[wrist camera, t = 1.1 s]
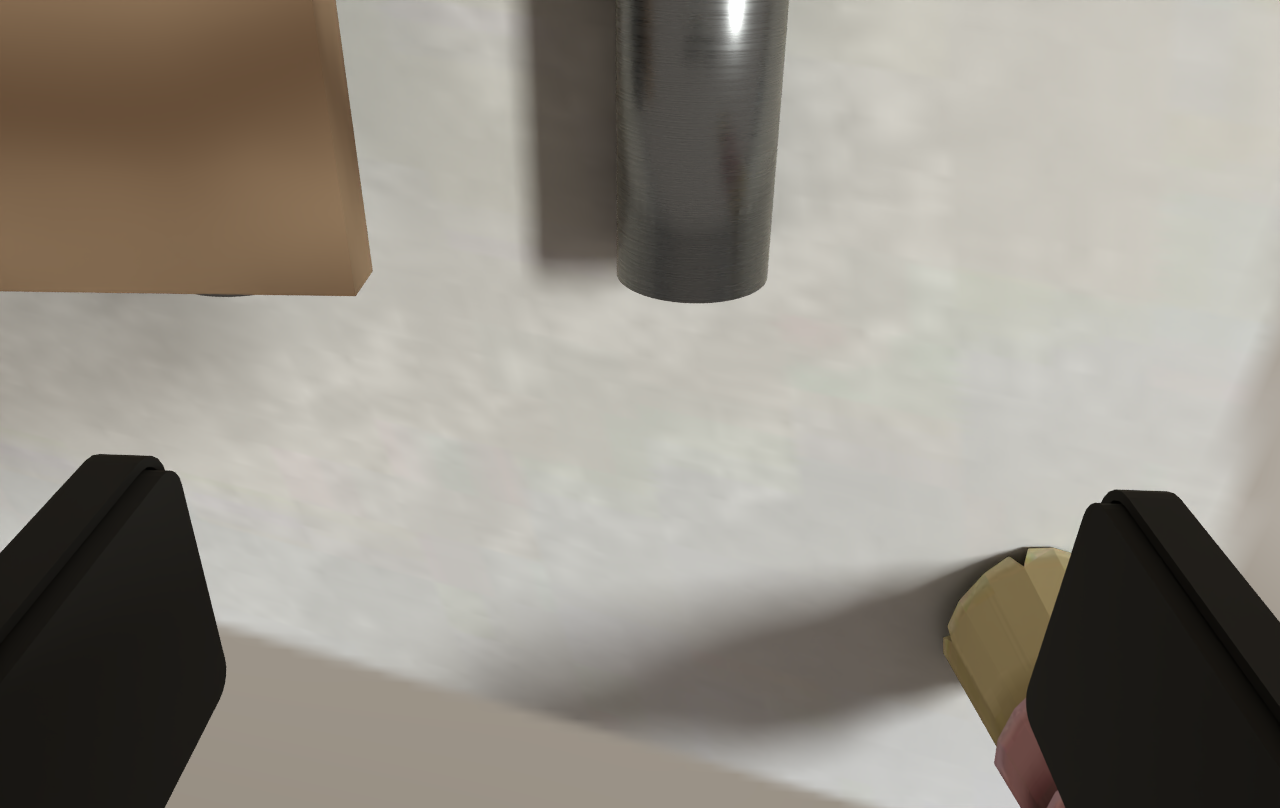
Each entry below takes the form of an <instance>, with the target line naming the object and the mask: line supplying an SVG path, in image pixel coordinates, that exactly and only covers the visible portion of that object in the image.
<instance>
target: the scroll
mask: <svg viewBox="0 0 1280 808" xmlns="http://www.w3.org/2000/svg"><path fill="white" fill-rule="evenodd" d="M1070 556H1071V553H1069V552H1065V551H1062V550H1059V549H1055V548H1030V549H1028V551H1027V555H1026V559H1025V564H1024V566H1022V565H1021V564H1019V563H1018V562H1016V561H1015V560H1013V559H1012V558H1011V557H1007V558H1006V559H1004V560H1003V561H1001V562H1000V563H998V564H997V565H995V566H994V567H993V568H991V569H990V570H988V571H987V572H985V573H984V574H983V575H982V576H981V577H980V578H979V580H978V581H977V582H976V583H975V584H974V585H973V586H972V587H971V588H970V589H969V590H968V592H967V593H966V594H965V595H964V596H963V597H962V598H961V599H960V600H959V602H958V604H957V606H956V609H955V611H954V613H953V615H952V617H951V619H950V621H949V624H948V629H949V633H950V635H949V636H946V637H943V653H944V655H945V657H946V658H947V660H948V662H949V664H950V666H951V667H952V669H953V671H954V673H955V674H956V676H957V678H958V680H959V681H960V683H961V685H962V687H963V688H964V690H965V692H966V694H967V695H968V697H969V699H970V701H971V703H972V704H973V706H974V708H975V710H976V711H977V713H978V715H979V717H980V718H981V720H982V722H983V724H984V725H985V727H986V729H987V731H988V732H989V734H990V736H991V738H992V739H993V741H994V743H995V745H996V747H997V748H996V755H995V761H994V764H995V766H996V767H997V769H998V771H999V772H1000V774H1001V776H1002V777H1003V779H1004V781H1005V782H1006V784H1007V786H1008V787H1009V789H1010V791H1011V792H1012V794H1013V795H1014V797H1015V799H1016V800H1017V802H1018V804H1019V805H1020V807H1021V808H1065V806H1064V804H1063V801H1062V799H1061V797H1060V794H1059V792H1058V790H1057V787H1056V785H1055V783H1054V780H1053V778H1052V776H1051V773H1050V771H1049V769H1048V766H1047V764H1046V762H1045V759H1044V757H1043V755H1042V752H1041V750H1040V747H1039V745H1038V743H1037V740H1036V738H1035V736H1034V733H1033V731H1032V729H1031V726H1030V723H1029V720H1028V716H1027V711H1026V693H1027V688H1028V685H1029V682H1030V678H1031V675H1032V672H1033V669H1034V666H1035V663H1036V660H1037V657H1038V654H1039V651H1040V648H1041V645H1042V642H1043V639H1044V636H1045V632H1046V629H1047V626H1048V623H1049V620H1050V617H1051V614H1052V611H1053V608H1054V605H1055V602H1056V599H1057V596H1058V593H1059V589H1060V586H1061V583H1062V580H1063V577H1064V574H1065V571H1066V568H1067V565H1068V562H1069V559H1070Z"/></svg>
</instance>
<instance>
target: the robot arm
mask: <svg viewBox="0 0 1280 808" xmlns="http://www.w3.org/2000/svg"><path fill="white" fill-rule="evenodd" d="M225 678H226V662H225V657H224V653H223V650H222V645H221V641H220V637H219V633H218V629H217V625H216V621H215V617H214V613H213V608H212V604H211V600H210V596H209V592H208V588H207V584H206V580H205V576H204V572H203V568H202V564H201V560H200V556H199V552H198V548H197V544H196V540H195V536H194V532H193V528H192V524H191V520H190V516H189V511H188V507H187V503H186V499H185V495H184V491H183V487H182V484H181V481H180V478H179V476H178V475H177V474H176V473H175V472H173V471H165V469H164V467H163V464H162V463H161V462H160V461H159V459H158V458H155V457H153V456H138V455H109V454H98V455H93V456H91V457H90V458H88V459H87V460H86V461H85V462H84V463H83V464H82V465H81V466H80V467H79V468H78V469H77V470H76V471H75V473H74V474H73V475H72V476H71V477H70V478H69V479H68V480H67V481H66V482H65V483H64V484H63V486H62V487H61V488H60V489H59V490H58V491H57V492H56V493H55V494H54V495H53V496H52V497H51V499H50V500H49V501H48V502H47V503H46V504H45V505H44V506H43V507H42V508H41V509H40V510H39V512H38V513H37V514H36V515H35V516H34V517H33V518H32V519H31V520H30V521H29V522H28V523H27V525H26V526H25V527H24V528H23V529H22V530H21V531H20V532H19V533H18V534H17V535H16V536H15V538H14V539H13V540H12V541H11V542H10V543H9V544H8V545H7V546H6V547H5V548H4V550H3V551H2V552H1V553H0V808H165V806H166V804H167V802H168V800H169V798H170V796H171V794H172V792H173V790H174V788H175V786H176V784H177V782H178V780H179V778H180V776H181V774H182V772H183V770H184V769H185V767H186V764H187V763H188V761H189V759H190V757H191V755H192V752H193V751H194V749H195V747H196V745H197V743H198V741H199V739H200V737H201V735H202V733H203V731H204V729H205V727H206V725H207V723H208V721H209V719H210V717H211V715H212V713H213V711H214V709H215V707H216V706H217V704H218V702H219V700H220V697H221V695H222V692H223V688H224V685H225ZM1026 711H1027V716H1028V720H1029V723H1030V726H1031V729H1032V731H1033V733H1034V736H1035V738H1036V740H1037V743H1038V745H1039V747H1040V750H1041V752H1042V755H1043V757H1044V759H1045V762H1046V764H1047V766H1048V769H1049V771H1050V773H1051V776H1052V778H1053V780H1054V783H1055V785H1056V787H1057V790H1058V792H1059V794H1060V797H1061V799H1062V801H1063V804H1064V806H1065V808H1280V622H1279V621H1278V620H1277V618H1276V617H1275V616H1274V615H1273V613H1272V612H1271V611H1270V610H1269V608H1268V607H1267V606H1266V605H1265V603H1264V602H1263V601H1262V600H1261V598H1260V597H1259V596H1258V595H1257V594H1256V592H1255V591H1254V590H1253V588H1252V587H1251V586H1250V585H1249V583H1248V582H1247V581H1246V580H1245V578H1244V577H1243V576H1242V575H1241V574H1240V572H1239V571H1238V570H1237V569H1236V567H1235V566H1234V565H1233V564H1232V562H1231V561H1230V560H1229V559H1228V557H1227V556H1226V555H1225V554H1224V552H1223V551H1222V550H1221V549H1220V547H1219V546H1218V545H1217V544H1216V542H1215V541H1214V540H1213V539H1212V537H1211V536H1210V535H1209V534H1208V532H1207V531H1206V530H1205V529H1204V528H1203V526H1202V525H1201V524H1200V523H1199V521H1198V520H1197V519H1196V518H1195V516H1194V515H1193V514H1192V513H1191V511H1190V510H1189V509H1188V508H1187V506H1186V505H1185V504H1184V503H1183V501H1182V500H1181V499H1180V498H1179V497H1178V496H1177V495H1175V494H1174V493H1171V492H1167V491H1140V490H1113V491H1110V492H1108V494H1107V495H1106V496H1105V497H1104V498H1103V500H1102V502H1101V503H1093V504H1091V505H1090V506H1089V507H1088V508H1087V509H1086V511H1085V514H1084V516H1083V519H1082V522H1081V525H1080V528H1079V531H1078V534H1077V537H1076V540H1075V543H1074V547H1073V550H1072V553H1071V556H1070V559H1069V562H1068V565H1067V568H1066V571H1065V574H1064V577H1063V580H1062V583H1061V586H1060V589H1059V593H1058V596H1057V599H1056V602H1055V605H1054V608H1053V611H1052V614H1051V617H1050V620H1049V623H1048V626H1047V629H1046V632H1045V636H1044V639H1043V642H1042V645H1041V648H1040V651H1039V654H1038V657H1037V660H1036V663H1035V666H1034V669H1033V672H1032V675H1031V678H1030V682H1029V685H1028V688H1027V693H1026Z"/></svg>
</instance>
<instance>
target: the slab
mask: <svg viewBox="0 0 1280 808" xmlns="http://www.w3.org/2000/svg"><path fill="white" fill-rule="evenodd" d="M372 271H373V270H372V263H371V255H370V248H369V241H368V234H367V226H366V219H365V212H364V204H363V197H362V190H361V182H360V175H359V168H358V161H357V153H356V146H355V139H354V131H353V124H352V117H351V109H350V102H349V95H348V88H347V80H346V73H345V66H344V58H343V51H342V44H341V36H340V29H339V22H338V15H337V7H336V0H0V291H23V292H97V293H170V294H243V295H316V296H356V295H357V293H358V292H359V290H360V289H361V288H362V286H363V285H364V283H365V282H366V280H367V279H368V277H369V276H370V274H371V273H372Z"/></svg>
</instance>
